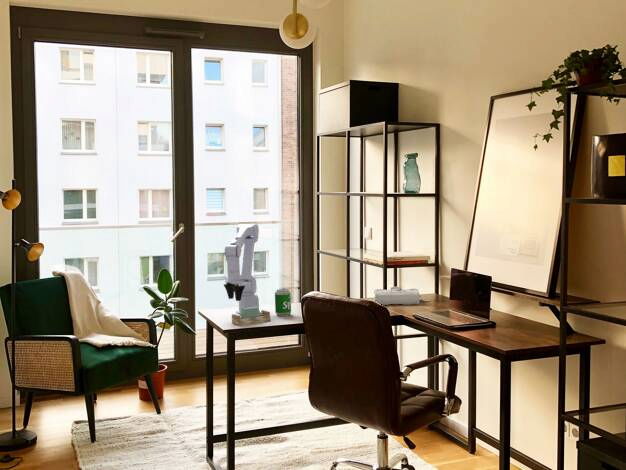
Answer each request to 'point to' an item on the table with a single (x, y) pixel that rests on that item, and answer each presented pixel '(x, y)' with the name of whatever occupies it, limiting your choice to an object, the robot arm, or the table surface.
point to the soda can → (283, 302)
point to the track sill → (262, 318)
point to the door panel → (249, 312)
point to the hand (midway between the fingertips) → (234, 299)
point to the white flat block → (397, 296)
